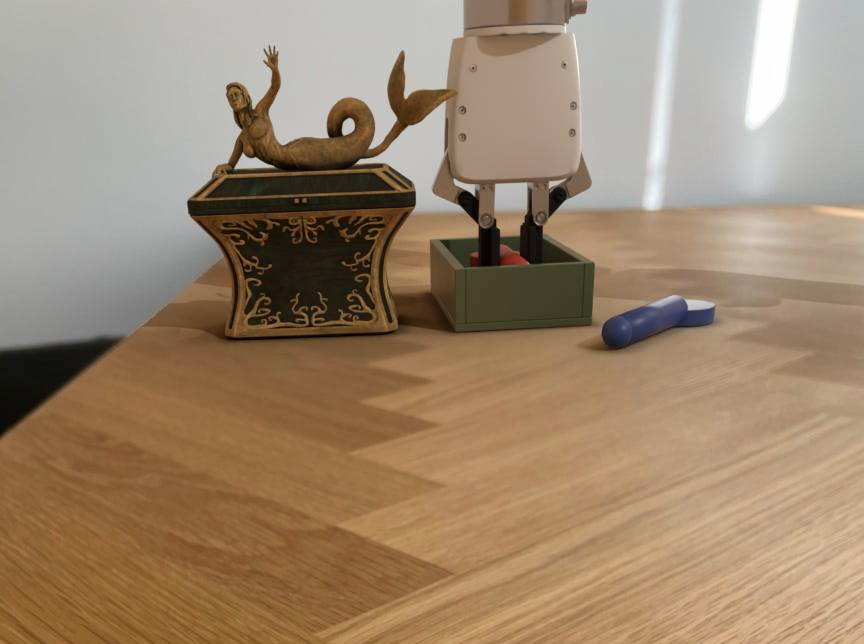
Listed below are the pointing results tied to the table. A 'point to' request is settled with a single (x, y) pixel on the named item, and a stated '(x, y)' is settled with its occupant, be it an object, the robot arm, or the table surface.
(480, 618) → the table surface
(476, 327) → the bin
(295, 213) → the decorative box
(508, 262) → the red spoon
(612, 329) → the blue spoon
